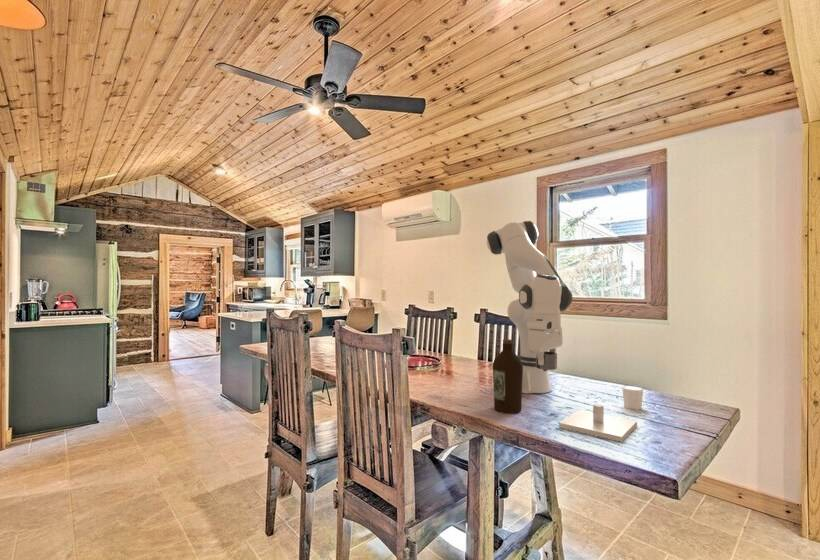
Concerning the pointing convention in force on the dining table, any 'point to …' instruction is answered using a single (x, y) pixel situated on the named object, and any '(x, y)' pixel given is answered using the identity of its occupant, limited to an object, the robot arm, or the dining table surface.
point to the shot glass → (632, 397)
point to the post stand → (599, 424)
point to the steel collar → (548, 361)
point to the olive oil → (507, 380)
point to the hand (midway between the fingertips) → (546, 362)
